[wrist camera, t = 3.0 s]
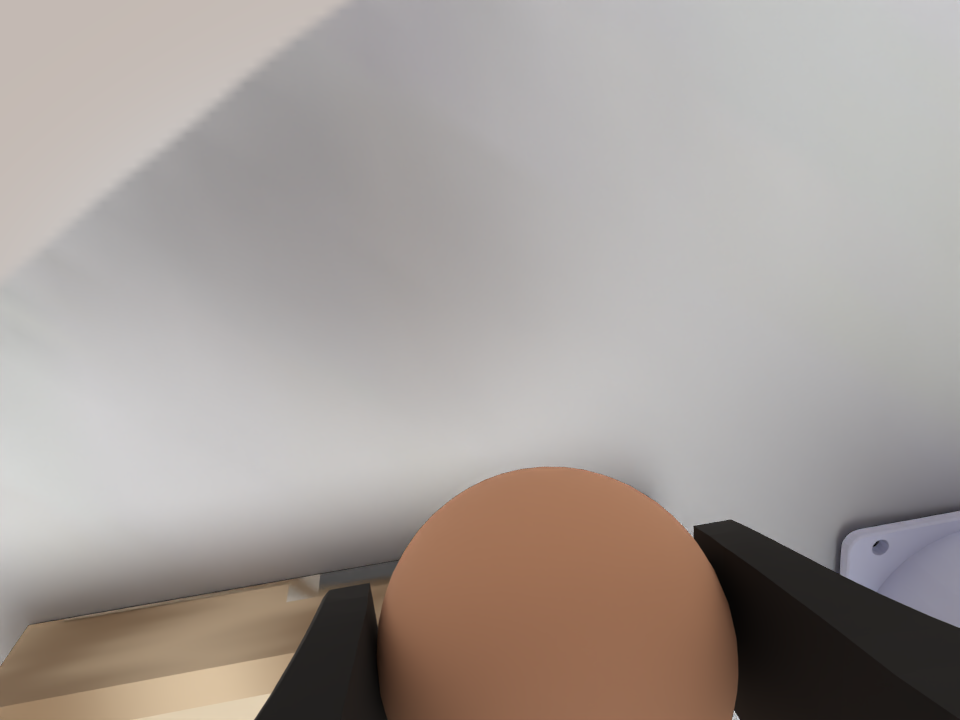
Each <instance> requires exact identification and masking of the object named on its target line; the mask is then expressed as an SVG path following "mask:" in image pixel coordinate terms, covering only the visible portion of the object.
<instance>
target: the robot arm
mask: <svg viewBox="0 0 960 720" xmlns="http://www.w3.org/2000/svg"><path fill="white" fill-rule="evenodd" d="M694 539H695V541H696V542H697V544H698V545H699V547H700V548H701V550H702V551H703V553H704V554H705V556H706V557H707V559H708V561H709V562H710V564H711V565H712V567H713V569H714V570H715V573H716V575H717V577H718V580H719V582H720V584H721V587H722V589H723V592H724V594H725V596H726V599H727V601H728V604H729V608H730V612H731V616H732V620H733V625H734V629H735V634H736V638H737V651H738V687H737V695H736V701H735V707H734V711H735V712H736V714H737V715H738V717H739V718H740V720H960V511H956V512H951V513H945V514H940V515H934V516H929V517H923V518H918V519H912V520H907V521H901V522H896V523H891V524H885V525H880V526H874V527H869V528H863V529H858V530H855V531H852V532H851V533H850V534H848V535H847V536H846V537H845V539H844V540H843V543H842V547H841V562H840V574H838V573H836V572H834V571H832V570H830V569H828V568H826V567H824V566H822V565H820V564H818V563H816V562H814V561H812V560H811V559H809V558H807V557H805V556H803V555H801V554H799V553H797V552H795V551H793V550H791V549H789V548H787V547H785V546H784V545H782V544H780V543H778V542H776V541H774V540H772V539H770V538H768V537H766V536H764V535H762V534H760V533H758V532H756V531H754V530H752V529H750V528H748V527H746V526H744V525H742V524H740V523H737V522H735V521H733V520H726V521H720V522H714V523H709V524H703V525H697V526H694ZM877 541H879V543H878V544H877V545H876V546H875V547H873V545H874V544H875V543H876V542H877ZM377 636H378V624H377V619H376V613H375V608H374V603H373V597H372V592H371V586H370V583H366V584H360V585H354V586H349V587H343V588H337V589H331V590H329V591H328V592H327V593H326V595H325V596H324V597H323V599H322V601H321V603H320V605H319V607H318V609H317V611H316V613H315V615H314V618H313V620H312V622H311V624H310V626H309V627H308V629H307V631H306V633H305V635H304V637H303V639H302V641H301V643H300V644H299V646H298V648H297V650H296V652H295V654H294V655H293V657H292V659H291V661H290V662H289V664H288V666H287V667H286V669H285V671H284V673H283V674H282V676H281V678H280V679H279V681H278V683H277V685H276V686H275V688H274V690H273V691H272V693H271V695H270V696H269V698H268V699H267V701H266V702H265V704H264V706H263V707H262V709H261V710H260V712H259V713H258V715H257V716H256V718H255V719H254V720H387V716H386V713H385V710H384V706H383V703H382V699H381V695H380V687H379V678H378V669H377V656H376V655H377Z"/></svg>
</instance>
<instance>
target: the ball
mask: <svg viewBox="0 0 960 720" xmlns="http://www.w3.org/2000/svg"><path fill="white" fill-rule="evenodd" d="M376 656H377V669H378V678H379V687H380V695H381V699H382V703H383V706H384V710H385V713H386V716H387V720H732V716H733V712H734V707H735V701H736V695H737V687H738V651H737V638H736V634H735V629H734V625H733V620H732V616H731V612H730V608H729V604H728V601H727V599H726V596H725V594H724V592H723V589H722V587H721V584H720V582H719V580H718V577H717V575H716V573H715V570H714V569H713V567H712V565H711V564H710V562H709V561H708V559H707V557H706V556H705V554H704V553H703V551H702V550H701V548H700V547H699V545H698V544H697V542H696V541H695V539H694V538H693V537H692V536H691V535H690V534H689V533H688V531H687V530H686V529H685V528H684V527H683V526H682V525H681V524H680V523H679V522H678V521H677V520H676V519H675V518H674V517H673V516H672V515H671V514H670V513H669V512H668V511H666V510H665V509H664V508H663V507H662V506H660V505H659V504H658V503H657V502H655V501H654V500H652V499H651V498H649V497H647V496H646V495H644V494H643V493H641V492H639V491H638V490H636V489H634V488H633V487H631V486H629V485H627V484H625V483H622V482H620V481H618V480H615V479H613V478H610V477H607V476H604V475H601V474H598V473H594V472H590V471H587V470H582V469H575V468H568V467H536V468H527V469H520V470H516V471H511V472H507V473H503V474H500V475H497V476H494V477H492V478H489V479H486V480H484V481H482V482H480V483H478V484H476V485H474V486H472V487H470V488H468V489H466V490H465V491H463V492H462V493H460V494H459V495H457V496H456V497H454V498H453V499H451V500H450V501H449V502H447V503H446V504H445V505H444V506H443V507H442V508H440V509H439V510H438V511H437V512H436V513H434V514H433V515H432V516H431V517H430V518H429V519H428V521H427V522H426V523H425V524H424V525H423V526H422V527H421V528H420V529H419V530H418V532H417V533H416V535H415V536H414V537H413V539H412V540H411V542H410V543H409V544H408V546H407V548H406V549H405V551H404V553H403V554H402V556H401V558H400V560H399V562H398V564H397V566H396V568H395V570H394V571H393V574H392V576H391V579H390V582H389V585H388V587H387V590H386V593H385V597H384V600H383V604H382V609H381V613H380V618H379V623H378V636H377V655H376Z"/></svg>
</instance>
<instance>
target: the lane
mask: <svg viewBox="0 0 960 720" xmlns="http://www.w3.org/2000/svg"><path fill="white" fill-rule="evenodd" d="M392 572H393V571H392ZM382 574H383V573H382ZM382 574H381V575H382ZM381 575H380V576H381ZM384 575H386V574H384ZM388 575H389V574H388ZM388 575H387V576H388ZM390 575H391V574H390ZM374 576H375V575H374ZM382 576H383V575H382ZM387 576H386V577H387ZM366 577H367V576H366ZM386 577H385V576H384V578H385V579H387V578H388V579H387V581H386V580H385V581H384V582H383V580H384V579H383V578H382V579H383V580H382V579H381V580H380V578H379V577H378V578H379V579H378V580H377V578H376V580H375V579H374V578H375V577H374V578H373V579H374V580H373V579H372V578H371V579H370V578H369V579H370V580H373V582H374V583H373V582H372V581H370V580H369V582H368V583H370V585H371V592H372V597H373V603H374V608H375V613H376V619H377V624H378V623H379V618H380V613H381V609H382V604H383V600H384V597H385V593H386V590H387V587H388V585H389V582H390V579H389V578H391V577H387V578H386ZM303 578H304V577H303ZM301 579H302V578H301ZM298 580H300V578H299V579H298V578H297V579H296V578H295V579H289V580H284V581H285V582H284V581H278V582H275V583H278V584H275V583H274V582H272V583H271V584H270V583H267V584H266V585H265V584H264V585H263V584H261V585H259V586H260V588H261V589H258V585H255V587H257V588H256V589H255V590H246V591H242V592H240V593H239V591H238V593H237V591H236V592H235V593H232V594H231V592H230V594H227V595H226V594H225V595H224V594H223V595H222V594H221V595H220V596H219V595H218V596H213V597H208V598H207V597H206V598H200V599H196V600H195V599H194V600H193V599H192V600H190V601H189V600H188V601H187V600H186V601H183V602H182V601H181V602H176V603H170V604H164V605H161V606H160V605H158V606H155V605H154V606H150V607H147V608H141V609H140V608H139V609H138V608H137V609H134V610H131V611H128V610H127V611H121V612H119V613H118V611H117V613H109V614H104V615H98V616H93V617H91V616H90V617H85V618H80V619H76V620H75V619H74V620H73V619H72V620H65V621H64V619H61V620H56V621H50V622H44V623H38V624H33V625H28V627H27V628H26V630H25V631H24V633H23V634H22V635H21V637H20V638H19V640H18V641H17V643H16V644H15V646H14V647H13V649H12V650H11V652H10V653H9V655H8V656H7V657H6V659H5V660H4V662H3V663H2V665H1V666H0V720H134V719H139V718H144V717H150V716H155V715H160V714H165V713H171V712H176V711H181V710H186V709H191V708H197V707H202V706H207V705H212V704H218V703H223V702H228V701H233V700H239V699H244V698H249V697H254V696H260V695H265V694H270V693H272V691H273V690H274V688H275V686H276V685H277V683H278V681H279V679H280V678H281V676H282V674H283V673H284V671H285V669H286V667H287V666H288V664H289V662H290V661H291V659H292V657H293V655H294V654H295V652H296V650H297V648H298V646H299V644H300V643H301V641H302V639H303V637H304V635H305V633H306V631H307V629H308V627H309V626H310V624H311V622H312V620H313V618H314V615H315V613H316V611H317V609H318V607H319V605H320V603H321V601H322V599H323V597H324V596H325V595H326V593H327V592H328V591H329V590H331V589H337V588H343V587H349V586H354V585H359V584H360V583H361V582H358V581H357V582H356V584H355V582H354V583H353V584H354V585H351V584H350V583H349V584H350V585H348V586H344V583H343V586H341V585H342V584H341V585H340V584H339V583H338V585H340V586H341V587H339V586H338V585H336V583H335V584H334V586H335V585H336V586H337V587H335V588H332V587H334V586H331V587H330V585H329V587H327V583H326V584H325V585H326V587H325V588H327V589H325V588H324V585H321V586H323V588H324V589H322V587H321V589H320V588H318V591H316V590H317V589H316V588H315V589H316V590H315V589H314V588H313V587H312V588H313V590H312V588H311V586H312V585H311V586H309V587H308V585H309V584H308V583H306V584H305V585H304V583H305V581H304V580H305V579H304V580H303V579H302V580H303V581H302V580H301V581H299V582H298ZM339 580H340V579H339ZM345 580H346V579H345ZM359 580H361V579H359ZM289 581H290V582H289ZM349 581H350V580H349ZM353 581H355V580H353ZM362 581H363V583H361V584H365V582H364V580H362ZM292 582H293V583H292ZM306 582H307V580H306ZM334 582H335V580H334ZM339 582H340V581H339ZM375 582H376V583H375ZM377 582H378V583H377ZM381 582H382V583H381ZM385 582H386V583H385ZM280 583H281V584H282V585H281V584H280ZM289 583H291V584H289ZM302 583H303V584H302ZM341 583H342V582H341ZM346 583H347V582H346ZM366 583H367V582H366ZM279 584H280V585H279ZM284 584H285V585H284ZM307 584H308V585H307ZM310 584H312V583H310ZM372 584H373V585H372ZM262 585H263V586H262ZM268 585H269V586H270V587H268ZM271 585H273V587H272V586H271ZM274 585H277V586H274ZM289 585H290V586H289ZM292 585H293V586H292ZM300 585H301V586H300ZM332 585H333V584H332ZM346 585H347V584H346ZM264 586H265V588H264ZM266 586H267V587H266ZM291 586H292V587H293V588H295V589H296V587H297V586H298V587H297V591H298V590H300V593H302V595H305V594H307V593H308V592H309V593H308V594H307V596H306V595H305V597H309V596H310V597H311V598H310V597H309V598H307V599H302V600H296V601H291V602H286V601H287V595H288V590H289V587H290V589H291ZM294 586H295V587H294ZM313 586H314V584H313ZM315 586H316V585H315ZM305 587H306V588H305ZM307 587H308V588H309V589H308V588H307ZM318 587H319V586H318ZM245 588H247V589H248V588H250V589H251V588H253V589H254V587H251V586H249V587H245ZM330 588H331V589H330ZM238 589H240V588H238ZM238 589H236V590H238ZM243 589H244V588H242V589H241V590H243ZM310 589H311V590H312V591H311V590H310ZM328 589H329V590H328ZM233 590H235V589H233ZM241 590H240V591H241ZM293 590H294V589H293ZM303 590H304V591H303ZM320 590H321V591H320ZM228 591H229V590H228ZM295 591H296V590H295ZM301 591H302V592H301ZM305 591H306V592H307V593H306V592H305ZM310 591H311V592H310ZM314 591H315V592H314ZM222 592H223V591H222ZM224 592H225V591H224ZM304 592H305V593H304ZM317 592H318V593H317ZM220 593H221V592H220ZM226 593H227V592H226ZM298 593H299V592H298ZM300 593H299V594H300ZM322 593H323V594H322ZM215 594H216V592H215ZM208 595H209V594H208ZM213 595H214V594H213ZM302 595H300V596H302ZM308 595H309V596H308ZM315 595H316V596H315ZM206 596H207V595H206ZM312 597H313V598H312Z"/></svg>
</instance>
